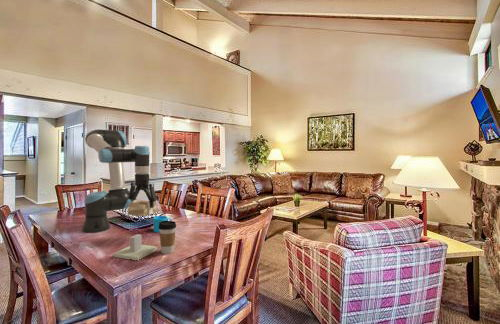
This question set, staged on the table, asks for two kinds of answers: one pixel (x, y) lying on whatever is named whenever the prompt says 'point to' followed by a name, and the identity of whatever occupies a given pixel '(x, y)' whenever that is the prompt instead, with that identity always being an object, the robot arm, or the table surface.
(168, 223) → the coffee cup
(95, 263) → the table surface
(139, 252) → the base
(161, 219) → the mug
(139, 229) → the table surface
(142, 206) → the collar
